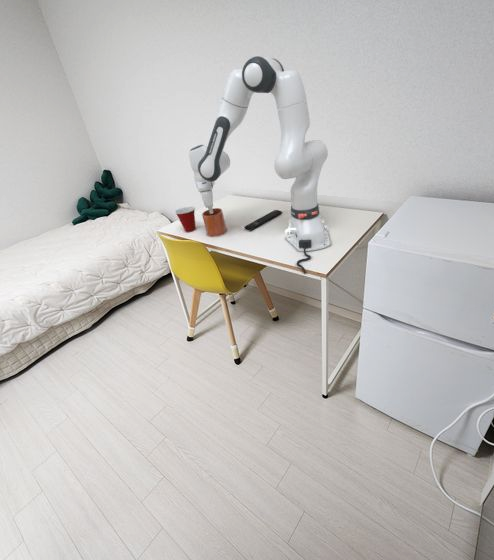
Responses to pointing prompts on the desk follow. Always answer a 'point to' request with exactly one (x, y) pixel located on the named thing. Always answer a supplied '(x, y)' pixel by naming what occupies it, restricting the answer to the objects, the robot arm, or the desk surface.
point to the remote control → (262, 220)
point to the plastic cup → (187, 218)
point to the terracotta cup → (214, 222)
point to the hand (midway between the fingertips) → (211, 209)
